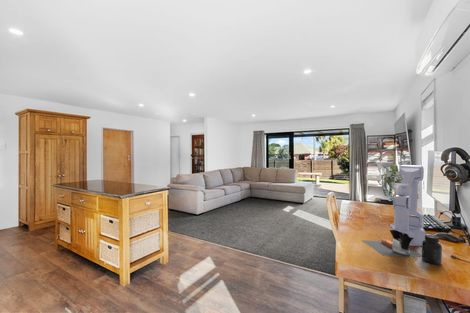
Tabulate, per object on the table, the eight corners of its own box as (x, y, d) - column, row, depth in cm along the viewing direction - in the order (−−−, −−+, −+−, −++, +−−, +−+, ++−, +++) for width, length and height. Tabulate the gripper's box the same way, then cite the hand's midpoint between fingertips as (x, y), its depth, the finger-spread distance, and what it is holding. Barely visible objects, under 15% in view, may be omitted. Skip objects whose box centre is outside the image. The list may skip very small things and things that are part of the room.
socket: (402, 247, 111) (402, 237, 111) (408, 251, 106) (408, 240, 106) (392, 246, 111) (392, 236, 111) (398, 250, 107) (399, 240, 107)
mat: (397, 242, 124) (397, 241, 124) (426, 258, 104) (426, 257, 104) (361, 240, 125) (361, 240, 125) (383, 256, 105) (383, 255, 105)
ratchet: (390, 242, 122) (390, 235, 122) (413, 256, 105) (413, 247, 105) (377, 242, 122) (377, 234, 122) (398, 255, 105) (398, 247, 105)
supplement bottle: (417, 259, 103) (417, 233, 103) (431, 258, 103) (431, 233, 104) (432, 266, 96) (432, 238, 96) (446, 265, 97) (446, 238, 97)
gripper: (383, 215, 116) (383, 241, 116) (403, 223, 102) (403, 252, 102) (397, 216, 116) (397, 241, 116) (419, 224, 102) (419, 253, 101)
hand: (401, 247), depth 109 cm, fingers closed on socket, 4 cm apart
